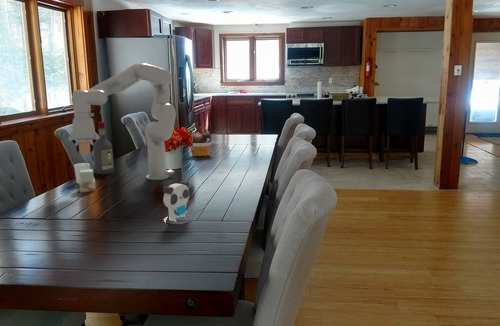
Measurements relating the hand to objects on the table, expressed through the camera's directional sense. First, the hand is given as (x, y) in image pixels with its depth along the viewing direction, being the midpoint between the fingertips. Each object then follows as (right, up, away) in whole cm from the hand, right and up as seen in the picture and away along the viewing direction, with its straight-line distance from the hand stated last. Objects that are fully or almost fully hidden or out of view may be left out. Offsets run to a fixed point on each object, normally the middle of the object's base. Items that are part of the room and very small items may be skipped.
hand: (85, 152), depth 209 cm
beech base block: (0, -19, +4) cm, 19 cm away
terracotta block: (0, -1, 0) cm, 1 cm away
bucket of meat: (+46, 0, +97) cm, 107 cm away
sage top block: (0, -14, +3) cm, 14 cm away
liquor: (-5, -11, +41) cm, 43 cm away
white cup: (-8, -16, +18) cm, 25 cm away
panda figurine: (+53, -29, -40) cm, 72 cm away
